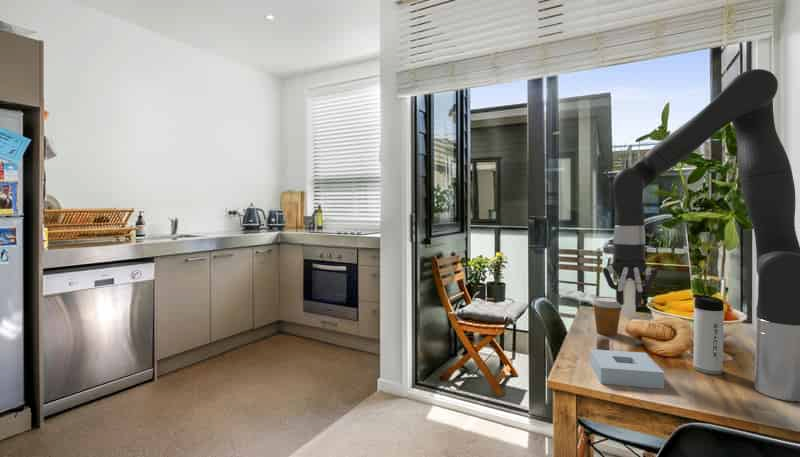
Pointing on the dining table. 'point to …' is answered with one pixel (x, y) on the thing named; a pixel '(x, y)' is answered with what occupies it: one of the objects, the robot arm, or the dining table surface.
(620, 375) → the jig block
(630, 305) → the long pin
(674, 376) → the dining table surface
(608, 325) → the disposable coffee cup
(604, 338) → the short pin
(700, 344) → the travel mug
